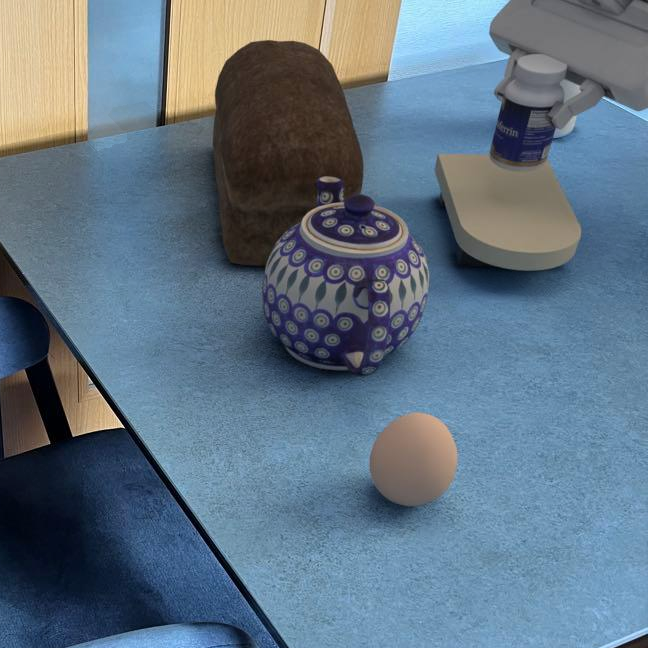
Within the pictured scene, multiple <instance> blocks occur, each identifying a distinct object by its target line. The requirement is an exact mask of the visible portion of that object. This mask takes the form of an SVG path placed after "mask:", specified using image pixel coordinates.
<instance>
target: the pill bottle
mask: <svg viewBox="0 0 648 648" xmlns="http://www.w3.org/2000/svg"><path fill="white" fill-rule="evenodd" d="M566 70H567V64H565V63H562V62H560V61H558V60H556V59H554V58H551V57H549V56H547V55H545V54H531V55H526V56H523V57H521V58H519V59H518V61H517V65H516V68H515V76H516V79H515V80H513V81H512V82H510V83H509V84H508V86H507V87H506V89H505V92H504V96H503V100H502V101H501V104H500V107H499V112H498V116H497V120H496V124H495V129H494V133H493V136H492V141H491V144H490V148H489V153H488V155H489V156H490V159H491V161H492V162H493V163H494V164H495V165H497V166H499V167H501V168H503V169H507V170H510V171H517V172H528V171H534V170H537V169H539V168H541V167H542V166H543V165H544V164H545V162H546V160H547V159H548V157H549V153H550V150H551V147H552V143H553V139H554V138H553V136H554V132H555V129H556V127H554V126H552V125H550V124H548V121H547V120H546V119H545V115H546V113H547V112H548V111H549V110H550V109H552V106H553V105H554V104H555V102H556V101H559V102H561V103H563V101H564V90H563V88H562V86H561V85H560V82H561V81H562V80H564V78H565V74H566Z"/></svg>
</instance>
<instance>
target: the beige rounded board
mask: <svg viewBox="0 0 648 648" xmlns="http://www.w3.org/2000/svg"><path fill="white" fill-rule="evenodd" d="M434 174H435V177H436V180H437V184H438V186H439V189H440V192H439V197H438V200H439V204H440V207H441V208H445V210H446V212H447V216H448V219H449V222H450V226H451V228H452V232H453V235H454V238H455V241H456V243H457V245H458V246H457V251H456V255H455V256H456V260H457V263H458V266H466V267H467V266H470V267H471V266H473V267H497V268H502V269H506V270H507V269H508V270H515V271H528V272H530V271H532V272H533V271H534V272H535V271H543V270H545V271H546V270H550V269H556V268H557V267H561V266H563V265H565V264H567V263H568V262H569V261H570V260H571V259H572V258H573V257H574V256H575V254H576V251H577V248H578V245H579V243H580V239H581V236H582V226H581V224H580V222H579V220H578V218H577V216H576V214H575V212H574V209H573V207H572V206H571V204H570V202H569V199H568V197H567V195H566V193H565V191H564V189H563V187H562V186H561V185H562V184H561V182H560V181H559V180H558V177H557V175H556V173H555V171H554V169H553V167H552V165H551V163H550V161H549V159H548V158H547V160H546V162H545V164H544V165H543V166H542V167H541V168H539V169H537V170H534V171H528V172H517V171H510V170H507V169H503V168H501V167H499V166H497V165H495V164H494V163H493V162H492V161H491V159H490V156H489V154H484V153H483V154H482V153H481V154H480V153H479V154H476V153H437V154H436V160H435V164H434Z"/></svg>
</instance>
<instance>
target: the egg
mask: <svg viewBox="0 0 648 648" xmlns="http://www.w3.org/2000/svg"><path fill="white" fill-rule="evenodd" d="M371 447H372V448H371V451H370V454H369V474H370V477H371V480H372V482H373V485H374V486H375V488H376V489H377V490H378V492H379V493H380V494H381V495H382V496H383V497H385V499H387V500H388V501H390V502H392V503H394V504H397V505H400V506H403V507H418V506H423V505H427V504H429V503H431V502H433V501H435V500H437V499H438V498H439V497H440V496H442V495H443V494H444V493H445V492H446V491H447V490H448V489H449V488H450V486H451V485H452V483H453V480H454V479H455V476H456V472H457V468H458V466H457V465H458V461H459V460H458V448H457V445H456V441H455V439H454V436H453V435H452V433H451V431H450V430H449V428H448V426H447V425H446V424H445V423H444V422H443V421H442V420H440V419H439V418H437V417H436V416H434V415H432V414H429V413H424V412H410V413H405V414H404V415H401V416H399V417H397V418H396V419H394V420H393V421H391V422H390V423H388V424H387V425H386V427H384V429H383V430H382V431H380V433H379V434H378V435H377V437H376V439H375V441H374V442H373V445H372V446H371Z"/></svg>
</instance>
